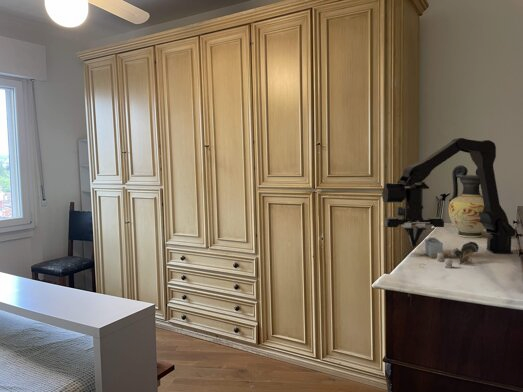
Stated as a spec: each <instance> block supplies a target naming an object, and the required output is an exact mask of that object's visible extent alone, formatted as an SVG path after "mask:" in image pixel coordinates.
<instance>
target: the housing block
mask: <svg viewBox="0 0 523 392" xmlns="http://www.w3.org/2000/svg"><path fill="white" fill-rule="evenodd" d="M443 248H444V245H443V242H441V241H440V240H439V239H437V238H436V237H428V238H425V239H424V252H425V253H426V254H427V255H428V256H429V257H431V255H437V253H444V252H443V251H444V250H443Z"/></svg>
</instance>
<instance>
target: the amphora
mask: <svg viewBox="0 0 523 392" xmlns="http://www.w3.org/2000/svg"><path fill="white" fill-rule="evenodd" d="M451 173H452V174H451V175H452V187H453V188H452V189H453V192H452V197H451V198H450V199H449V200H448V202H450V203H449V205H448V215H449V218H450V221H451V224H452V225H453V227H455V228H456V229H457V231H458V234H457V235H458V236H459V237H463V238H470V239H471V238H472V239H473V238H475V239H477V238H482V237H483V234H482V232H483V231H484V230H486V229H485V227H483V225H482V223H480V216H479V212H482V211H483V209H484V202H483V196H482V193H481V191H480V187H481V185H480V179H479V174H478V168H477V167H476V169H475V174H468V168H467V167H466V166H464V165H462V164H459V165H457V166H455V167H454V168H453V170H452V172H451ZM458 178H459V181H460V183H461V184H462V187H463V189H462V193H461V194H460V195H459V184H458ZM458 195H459V196H458Z"/></svg>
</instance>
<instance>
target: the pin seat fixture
mask: <svg viewBox="0 0 523 392" xmlns="http://www.w3.org/2000/svg"><path fill="white" fill-rule="evenodd" d="M454 256H455V255H451V254H447V253H446V252H443V253H437V255H431V256H430V259H436V261H437V262H444V267H445V268H447V269H452V268H453V259H455V260H457V259H458V258H456V256H455V257H454ZM458 260H459V259H458Z"/></svg>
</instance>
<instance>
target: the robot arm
mask: <svg viewBox="0 0 523 392" xmlns="http://www.w3.org/2000/svg"><path fill="white" fill-rule="evenodd" d="M459 152H463V153H467V154H468V153H469V155H470V159H471V161H472V163H474V165H475V166H476V169H477V168H478V174H479V179H480V189H481V191H480V192H481V196H483V202H484V209H483V211H482V212H479V216H480V223H482V225H483V227H485V229H484V230H485V231H486V233H488V237H487V238H486V250H487V251H488V252H491V253H492V254H514V251H512V237H515V235H516V233H517V230H516V229H515V228H514V227H513V226H512V225H511V224H510V221H509V219H508V216H507V213H506V212H505V210H504V209H503V207H502V206H501V203H500V197H499V192H498V186H497V181H496V179H497V178H496V174H495V169H494V162H495V160H496V158H497V147H496V143H495V142H494V141H492V140H489V139H488V140H487V139H486V140H483V139H482V140H476V139H475V140H474V139H467V138H464V137H455V138H453V139H452V140H451V141H449V142H448V143H447V144H445V145H443V146H442V147H441V148H440V149H438V150H436V151H435V152H434V153H432V154H430V155H429V156H428V157H426V158H425V159H423V160H419V161H417V162H415V163H412V164H410V165H408V166H405V168H404V169H403V171H402V175H401V177H400V178H399V179H398V180H397V182H395V183H390V182H385V183H384V187H383V188H382V192H381V196H382V197H381V199H382V201H383V203H384V204H388V203H390V204H392V203H394V204H395V203H403V201H404V205H403V206H404V208H403V206H402V207H396V216H386V217H385V218H384V225H385V227H386V228H398V227H399V226H400V225H401V228H402V230H404V231H406V233H407V235H408V239H409V241H410V245H411V247H412V248H413V247H414V248H415V247H416V245H417V243H418V241H419V238H420V236H421V235H422V233H423V231H425V230H427V227H426V225H427V226H428V225H429V226H430V225H432V226H433V227H434V228H444V227H445V221H444V219H443V218H441V217H439V216H428V217H427V219H426V218H425V219H424V218H423V213H424V212H423V210H424V205H423V203H424V200H423V198H424V197H423V195H424V194H423V193H424V190H426V189H427V190H429V189H430V186H429V185H427V184H426V183H425V180H426V178H428V177H429V176H430V174H431V173H432V171H433V170H434V169H436V168H437V167H439V166H440V165H441V164H443V163H444V162H446V161H447V160H448V159H450V158H452V157H453V156H454V155H456V154H458V153H459ZM399 217H401V219H399Z"/></svg>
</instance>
